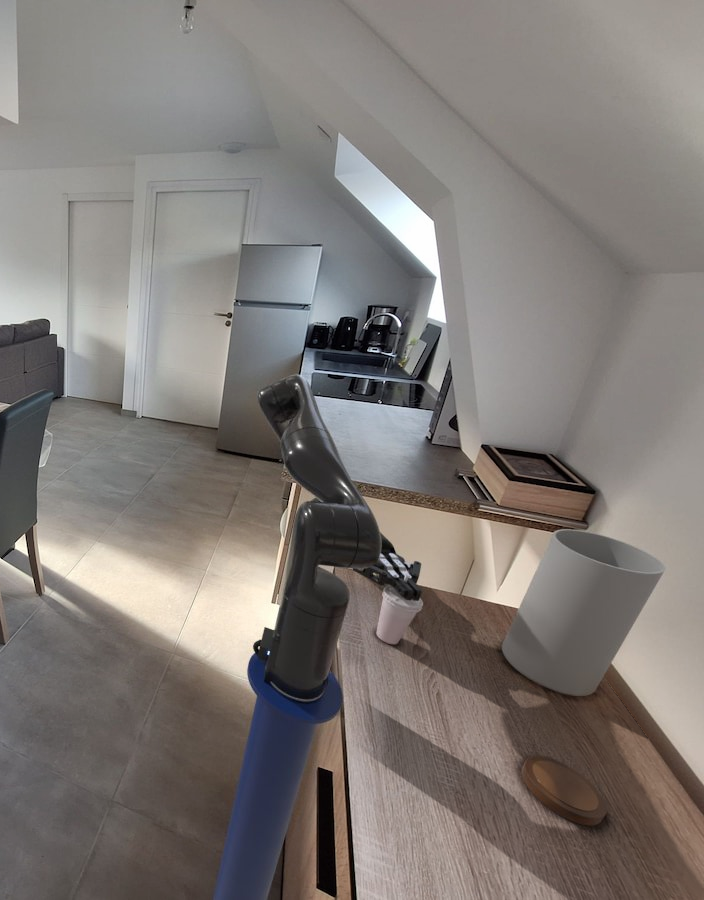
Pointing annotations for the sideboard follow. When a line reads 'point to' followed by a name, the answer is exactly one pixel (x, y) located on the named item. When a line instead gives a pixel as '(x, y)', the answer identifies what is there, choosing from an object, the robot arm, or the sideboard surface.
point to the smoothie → (395, 615)
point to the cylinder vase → (579, 610)
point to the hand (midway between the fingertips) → (414, 596)
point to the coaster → (563, 790)
